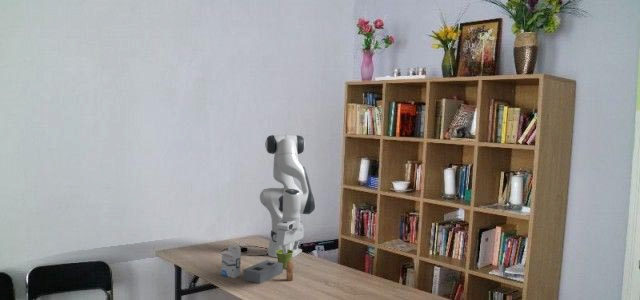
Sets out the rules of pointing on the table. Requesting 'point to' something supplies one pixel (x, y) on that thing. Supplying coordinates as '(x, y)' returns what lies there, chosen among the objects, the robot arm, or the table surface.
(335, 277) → the table surface
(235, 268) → the ink box
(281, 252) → the plant pot
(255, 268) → the hole block
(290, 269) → the peg
